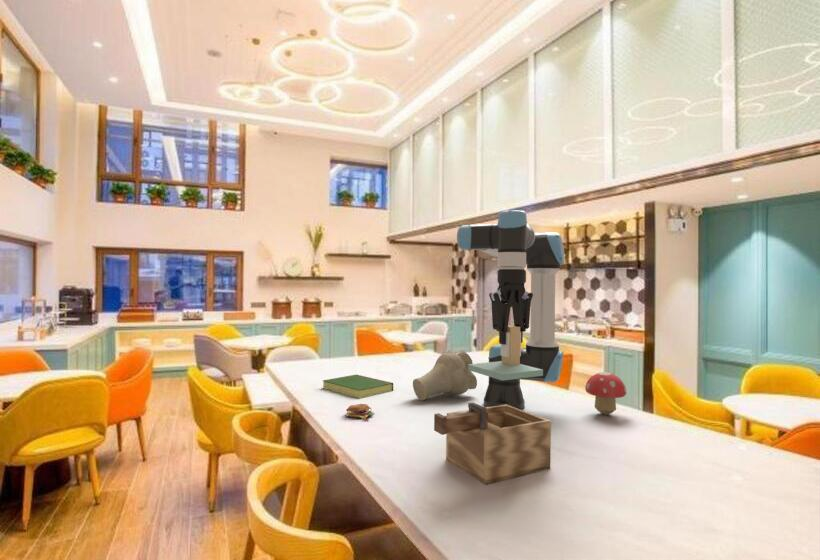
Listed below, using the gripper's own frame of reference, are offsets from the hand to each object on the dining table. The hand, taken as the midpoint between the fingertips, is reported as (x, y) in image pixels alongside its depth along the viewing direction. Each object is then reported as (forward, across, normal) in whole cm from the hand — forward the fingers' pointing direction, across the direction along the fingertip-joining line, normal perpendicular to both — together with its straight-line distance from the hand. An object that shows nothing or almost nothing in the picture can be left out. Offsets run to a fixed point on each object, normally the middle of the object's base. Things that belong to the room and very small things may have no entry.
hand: (510, 355), depth 125 cm
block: (+14, +21, +7) cm, 26 cm away
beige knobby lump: (+27, -16, -62) cm, 69 cm away
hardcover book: (+28, +9, -88) cm, 93 cm away
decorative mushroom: (+27, -56, -15) cm, 64 cm away
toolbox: (+27, +9, +3) cm, 28 cm away
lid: (+4, +5, +3) cm, 7 cm away
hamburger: (+28, +22, -50) cm, 61 cm away
